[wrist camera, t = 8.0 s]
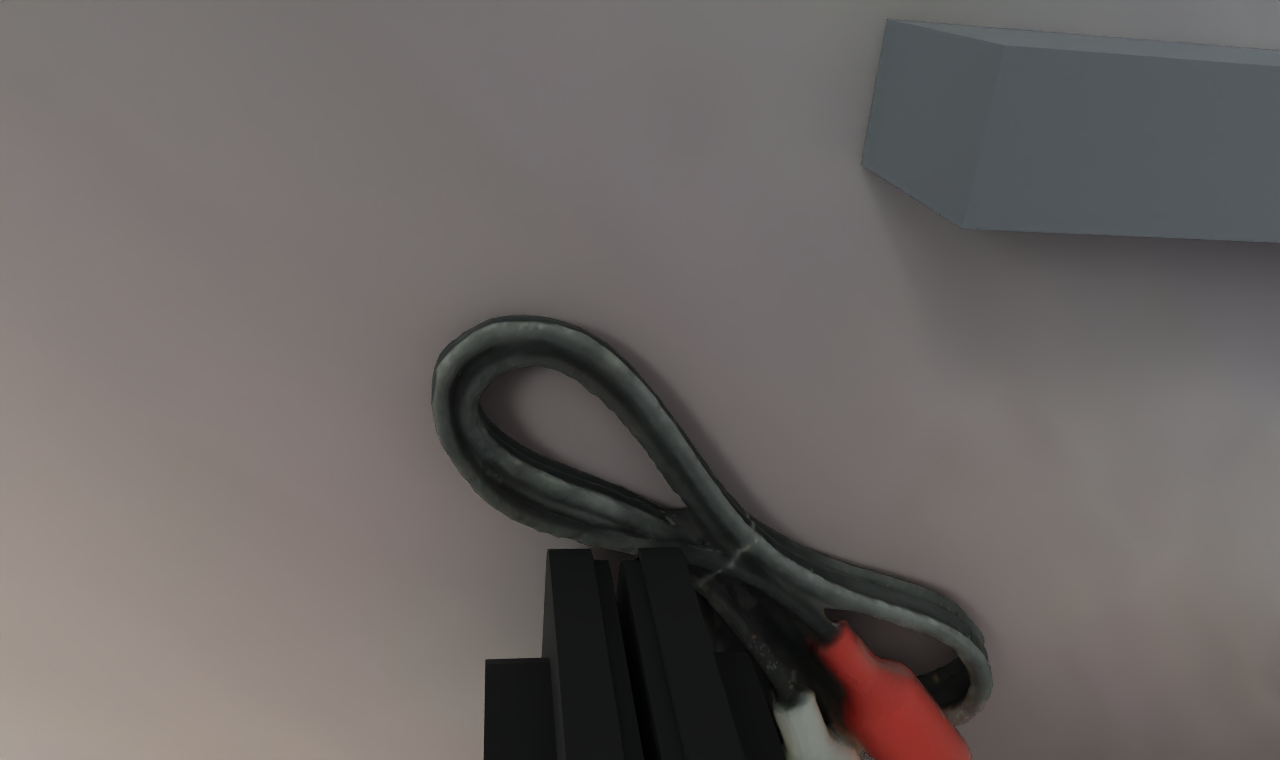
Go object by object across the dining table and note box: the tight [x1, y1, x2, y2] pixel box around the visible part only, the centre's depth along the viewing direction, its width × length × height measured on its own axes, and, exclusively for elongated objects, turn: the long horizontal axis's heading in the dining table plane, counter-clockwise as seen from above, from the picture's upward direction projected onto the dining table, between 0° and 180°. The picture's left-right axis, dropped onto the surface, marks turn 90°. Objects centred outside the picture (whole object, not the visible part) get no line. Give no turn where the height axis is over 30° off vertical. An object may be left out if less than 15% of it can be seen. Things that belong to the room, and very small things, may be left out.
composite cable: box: [431, 315, 993, 760], centre depth 12 cm, size 10×5×2 cm, turn 29°
